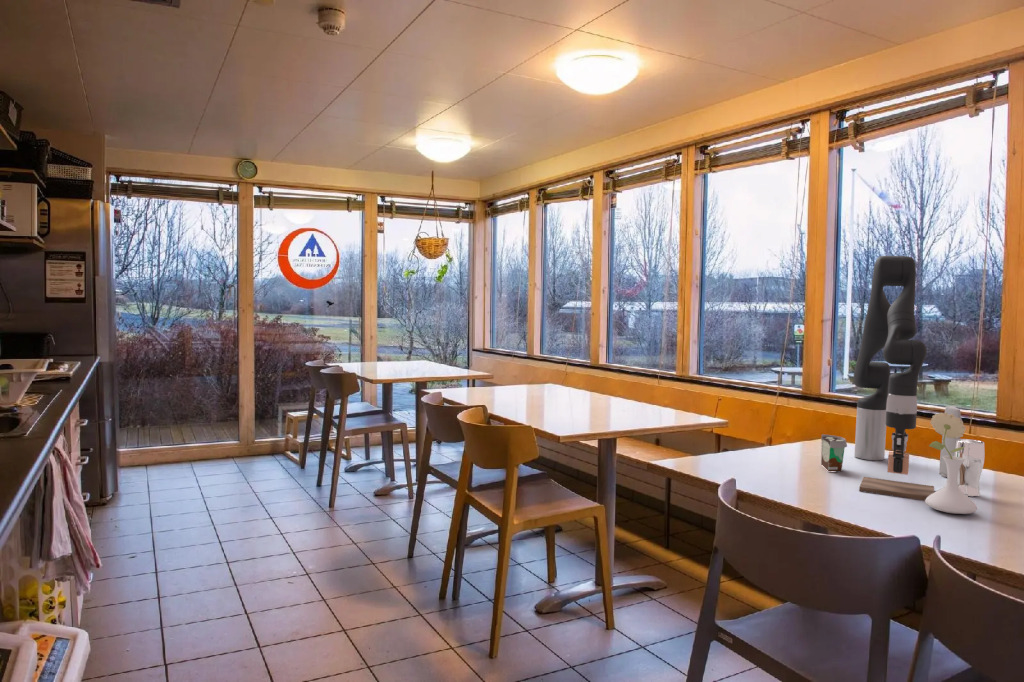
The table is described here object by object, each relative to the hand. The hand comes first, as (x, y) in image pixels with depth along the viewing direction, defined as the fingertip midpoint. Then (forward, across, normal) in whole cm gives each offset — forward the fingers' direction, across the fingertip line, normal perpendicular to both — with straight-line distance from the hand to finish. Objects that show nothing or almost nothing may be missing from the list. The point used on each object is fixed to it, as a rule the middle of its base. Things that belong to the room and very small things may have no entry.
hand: (898, 470), depth 197 cm
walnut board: (+6, 0, 0) cm, 6 cm away
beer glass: (+6, -8, +17) cm, 20 cm away
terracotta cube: (0, 0, 0) cm, 0 cm away
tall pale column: (+6, -29, +13) cm, 32 cm away
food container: (+6, -18, -18) cm, 26 cm away
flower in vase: (+6, +14, +12) cm, 19 cm away
